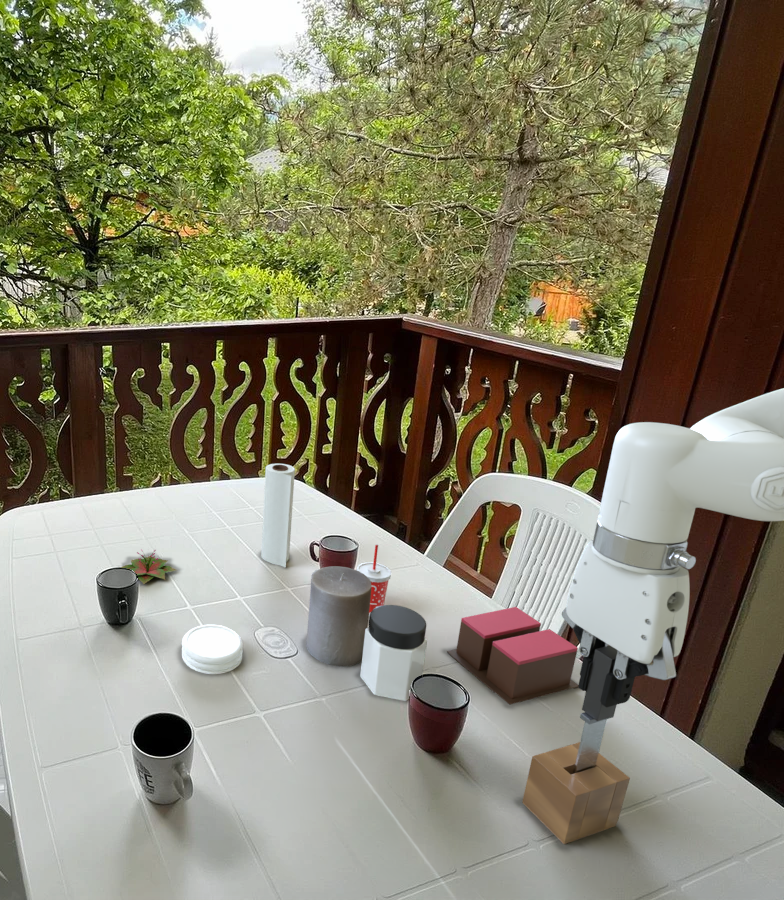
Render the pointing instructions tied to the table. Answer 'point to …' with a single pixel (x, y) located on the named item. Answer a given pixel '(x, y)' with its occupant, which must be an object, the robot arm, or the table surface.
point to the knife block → (574, 794)
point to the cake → (515, 655)
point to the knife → (595, 709)
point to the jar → (393, 651)
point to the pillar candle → (338, 615)
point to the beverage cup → (376, 580)
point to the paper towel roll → (277, 513)
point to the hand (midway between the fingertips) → (602, 693)
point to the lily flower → (149, 567)
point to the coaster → (212, 649)
